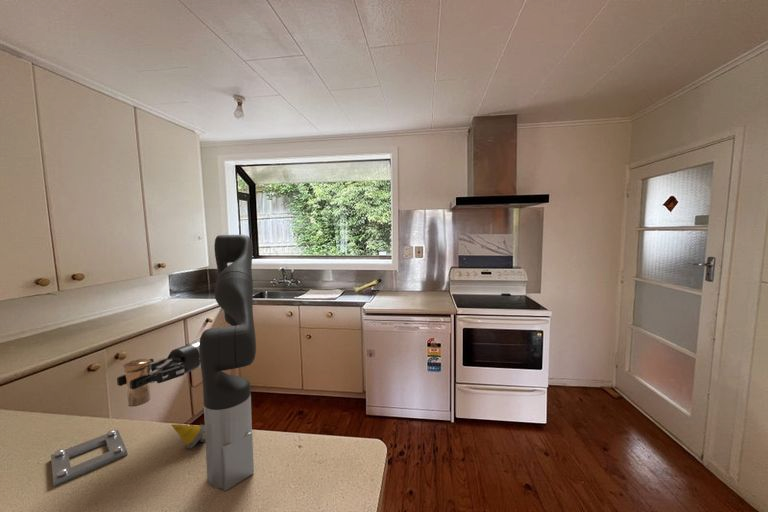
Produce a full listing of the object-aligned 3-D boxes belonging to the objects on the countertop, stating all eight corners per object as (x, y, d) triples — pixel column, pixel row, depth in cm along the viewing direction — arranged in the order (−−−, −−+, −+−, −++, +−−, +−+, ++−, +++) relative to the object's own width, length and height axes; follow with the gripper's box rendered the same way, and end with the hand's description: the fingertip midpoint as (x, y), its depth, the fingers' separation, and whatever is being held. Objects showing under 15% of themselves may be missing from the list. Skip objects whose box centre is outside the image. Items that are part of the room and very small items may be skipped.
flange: (127, 454, 72) (126, 447, 72) (53, 487, 63) (52, 478, 63) (118, 433, 80) (117, 426, 79) (51, 459, 70) (50, 451, 70)
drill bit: (203, 453, 73) (166, 436, 69) (196, 453, 76) (159, 436, 72) (217, 430, 77) (182, 412, 73) (209, 430, 80) (176, 414, 76)
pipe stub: (154, 400, 74) (151, 362, 74) (128, 409, 70) (125, 369, 70) (149, 394, 77) (146, 357, 77) (124, 402, 74) (121, 363, 73)
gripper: (174, 341, 89) (105, 364, 73) (209, 347, 84) (142, 373, 68) (176, 365, 90) (107, 393, 74) (210, 372, 85) (144, 404, 69)
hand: (124, 383), depth 71 cm, fingers closed on pipe stub, 4 cm apart
